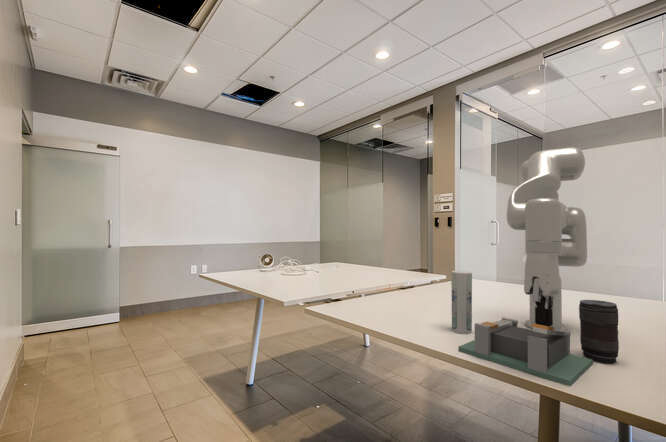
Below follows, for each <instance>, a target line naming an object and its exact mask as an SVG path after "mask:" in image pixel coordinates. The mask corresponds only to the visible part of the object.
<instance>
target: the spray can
mask: <svg viewBox="0 0 666 442" xmlns="http://www.w3.org/2000/svg"><path fill="white" fill-rule="evenodd" d="M450 273H451V275H450V276H451V282H450V283H451V284H450V285H451V330H452V332H453V333H456V334H462V335H469V334H471V333H472V331H473V327H472V326H473V325H472V324H473V319H472V318H473V317H472V316H473V272H472V271H469V270H451V272H450Z"/></svg>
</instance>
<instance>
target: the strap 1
mask: <svg viewBox="0 0 666 442" xmlns="http://www.w3.org/2000/svg"><path fill="white" fill-rule="evenodd" d="M501 319H502V318H501ZM479 324H483V325H488V326H490V328H491V333H493V332H496V331H499V330H501V329H504V328H507V327H509V326H512V325H513V322H512V321H507V320H503V319H502V320H496V321H494V322H493V321H492V322H491V321H484V322H480V323H479Z"/></svg>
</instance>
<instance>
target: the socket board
mask: <svg viewBox="0 0 666 442" xmlns="http://www.w3.org/2000/svg"><path fill="white" fill-rule="evenodd" d="M502 319H503V320H507V321H512V322H513V325H512V326H509V327H507V328H504V329H501V330H499V331H496V332H493V333H491V328H490V326H488V325H483V324H480V323H479V322H476V323H474V339H473V340H471V341H468V342H466V343H465V344H462V345H459V346H458V347H457V349H458V352H461V353H463V354H466V355H470V356H473V357H476V358H480V359H483V360H486V361H489V362H492V363H495V364H499V365H501V366H505V367H508V368H510V369H514V370H517V371H520V372H523V373H527V374H529V375H533V376H536V377H538V378H543V379H545V380H549V381H553V382H556V383H559V384H561V385H564V386H568V387H571V386H572V385H573V384H574V383H575V382H576V381H578V379H579V378H580V377H581V376H583V374H585V373H586V372H587V371H588V370H589V369H590V368H591V367H592V366H593V365H594V361H593V360H592V359H588V358H586V357H584V356H579V355H575V354H572V353H571V331H569V330H567V331H565V330H561V329H556V328H554V330H559V331H564V332H566V336H562V335H551V334H544V333H539V332H535V331H533V329H529V328H523V327H518V320H516V319H513V318H512V319H511V318H507V317H502V318H501V320H502Z"/></svg>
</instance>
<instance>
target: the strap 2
mask: <svg viewBox="0 0 666 442" xmlns="http://www.w3.org/2000/svg"><path fill="white" fill-rule="evenodd" d="M532 327H533V329H532V330H533V331H535V332H539V333H544V334H551V335H562V336H566V332H564V331H559V330H554V327H550V326H544V325H539V324H534V323H533V325H532Z"/></svg>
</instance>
